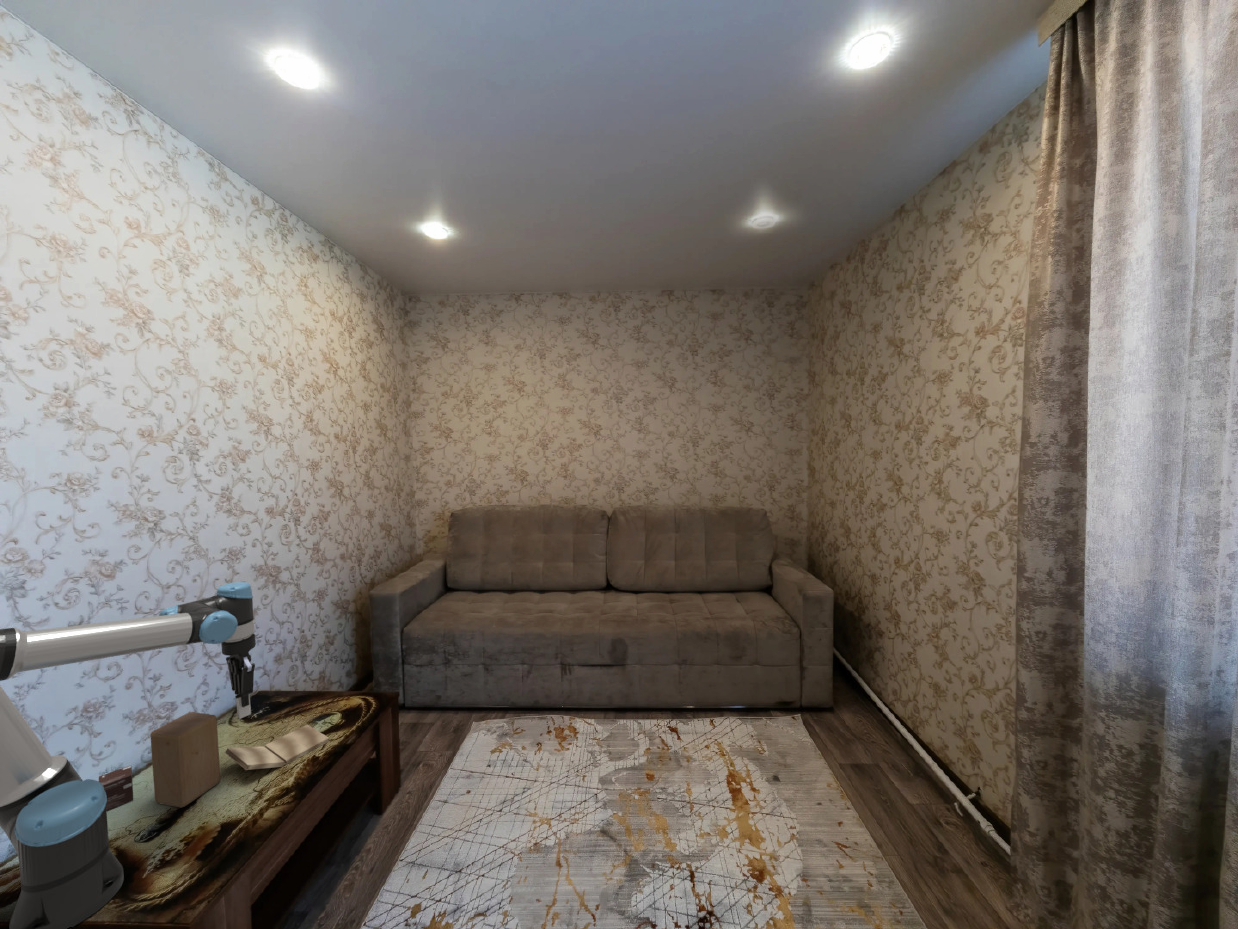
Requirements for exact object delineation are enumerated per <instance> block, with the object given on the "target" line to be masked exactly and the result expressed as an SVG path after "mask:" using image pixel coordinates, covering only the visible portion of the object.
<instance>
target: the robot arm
mask: <svg viewBox="0 0 1238 929" xmlns="http://www.w3.org/2000/svg"><path fill="white" fill-rule="evenodd" d="M253 598H254V596H253V590H252V586H251V584H250V583H249V582H245V581H238V582H237V581H236V582H231V583H225V584H224V585H221V586H219V587H218V588H217V589H216V595H213V596H209V597H206V598H202V599H198V600H193V601H190V602H185V603H182V604H176V605H174V606H171V607H167V608H164V609H163V610H161V611H160V613H159V614H158V616H149V617H141V618H140V617H139V618H131V619H123V620H122V619H121V620H115V621H114V620H113V621H107V622H98V623H96V622H95V623H89V624H80V625H72V626H62V627H53V628H46V629H37V630H28V631H23V630H21V629H19V628H17V627H10V628H9V627H8V628H0V682H1V681H7V680H9V679H11V678H12V677H14V676H15V675H16V674H18V673H22V672H27V671H35V670H39V669H41V670H42V669H46V668H52V667H58V666H59V667H60V666H64V665H70V664H75V663H82V662H88V661H90V662H91V661H95V660H100V659H107V658H112V657H113V658H114V657H118V656H123V655H131V654H132V655H133V654H137V653H143V652H144V653H145V652H149V651H150V652H151V651H153V650H162V649H168V648H172V647H180V646H184V645H185V646H186V645H191V644H198V643H203V644H209V645H210V644H211V645H218V644H221V654H222V655H224V656H227V657H225V661H226V663H227V668H228V673H229V679H230V681H229V682H230V686H231V691H232V692H234V694H235V701H236V713H237V718H238V719H239V720H241V719H242V718H245V717H247V716H250V715H251V714H252V709H251V708H252V707H251V695H250V694H252V693H254V678H255V677H254V676H255V675H254V674H255V668H256V664H255V663H254V662H252V656H251V654H250V653H249V652H251V650H253V649H254V648H255V647H256V646H257V645H256V644H257V642H256V634H255V624H256V622H257V621H256V620H255V618H254V603H253V602H254V601H253ZM251 662H252V663H251ZM106 803H107V796H106V792H105V790H104V787H103V785H102V784H101V783H100V782H99V780H96V779H93V778H92V779H89V778H87V779H85V780H83V779H82V777H81V776H80V774H79V773H78V771H76V769H75V768H74V766H73V765H72V764H71V762H70V761H69V759H68V758H67V757H66V755H61V754H59V755H51V754H50V752H49V751H48V750H47V748H46V747H45V746H44V744H43V743H42V741H41V740H40V739H39V737H38V736H37V734H36V733H35V731H34V730H33V729H32V727H31V725H30V724H28V721H27V720H26V719H25V718H24V717H23V715H22V714H21V712H20V711H19V710H18V708H17V707H16V705H15V704H14V703H13V701H12V700H11V698H10V697H9V695H8V694H7V692H5V690H4V689H3V687H2V686H1V685H0V828H1V830H3V832H4V833H5V834H6V836H7V838H8V839H9V841H10V843H11V845H12V846H13V848H14V850H15V852H16V854H17V857H18V866H19V867H18V868H19V876H20V877H19V879H20V886H21V888H20V889H21V891H20V894H19V897H18V899H17V902H16V905H15V907H14V910H13V913H12V916H11V918H10V921H9V929H67V928H69V927H72V928H74V927H76V926H77V925H79V924H80V923H82V922H84V921H85V920H87V919H88V918H90V917H92V915H95V913H97V912H98V911H99V910H101V909H102V908H103V907H104V906H106V905H107V904H108V903H109V902H110V901H111V900H112V899H113V897H115V896H116V895H117V893H118V892H119V891H120V889H121V888H122V885H123V883H124V880H125V878H124V877H125V876H124V867H123V865H122V863H120V861H119V860H118V858H117V857H116V855H115V854H114V853H113V851H112V850H111V849H110V843H109V828H108V826H109V825H108V815H107V813H108V811H106Z"/></svg>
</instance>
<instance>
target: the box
mask: <svg viewBox="0 0 1238 929" xmlns="http://www.w3.org/2000/svg"><path fill="white" fill-rule="evenodd" d="M132 767H133V766H132V765H128V766H125V767H122V768H118V769H116V770H113V771H111V772H108V773H106V774H103V775H99V777H98V781H99V782H100V783H101V784H102V785H103V787H104V790H105V792H106V796H107V803H106V811H107V812H108V811H111V810H114V809H116V808H119V807H122V806H123V805H125V804H128V803H131V802H133V801H134V784H133V769H132Z"/></svg>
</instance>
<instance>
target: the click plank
mask: <svg viewBox="0 0 1238 929" xmlns="http://www.w3.org/2000/svg"><path fill="white" fill-rule="evenodd" d="M224 753H225V754H226V755H227V756H228V757H229V758H231V759H232V760H233V761H234V762H236V764H238V765H240V767H241V768H243V769H244V770H245V771H248V770H250V771H251V770H259V769H271V768H283V767H284V765H285V762H284V761H283V760H281V759H280V758H279V757H277V756H276V755H275V754H273V753H272V752H271V751H269V750H268V749H266V748H265V745H263V746H248V747H247V746H244V747H230V748H229V747H228V748H226V750H225V752H224Z"/></svg>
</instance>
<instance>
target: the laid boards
mask: <svg viewBox="0 0 1238 929" xmlns="http://www.w3.org/2000/svg"><path fill="white" fill-rule="evenodd" d="M329 742H330V738H329V737H328V736H327V735H325V734H324V733H322V732H321V731H318V730H317V729H315V728H314V727H313V726H311V725H309V724H305V725H303V726H301V727H298V728H296V729H295V730H292V731H291V732H288V733H287V734H284V735H283V736H281V737H279V738H276V739H274V740H273V741H270V742H268V743H267V744H265V745H264V747H265V748H266V749H268V750H269V751H271V752H272V753H273V754H275V755H276V756H277V757H279V758H280V759H281V760H283V761H284V762H285V763H284V765H289V764H290V763H292V762H294V761H296V760H298V759H300V758H301V757H303V756H305V755H307V754H309V753H311V752H312V751H315V750H316V749H318V748H320V747H321V746H324V745H325V744H327V743H329Z"/></svg>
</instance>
